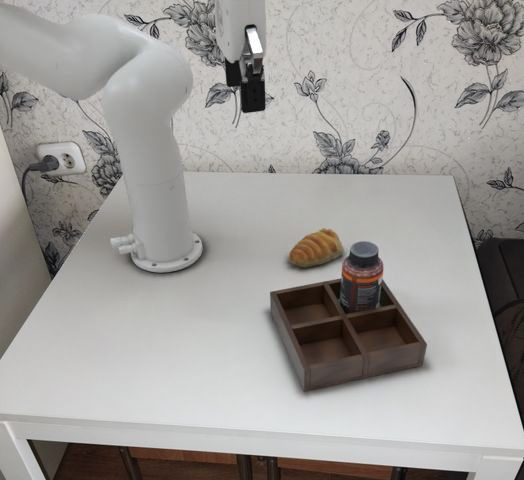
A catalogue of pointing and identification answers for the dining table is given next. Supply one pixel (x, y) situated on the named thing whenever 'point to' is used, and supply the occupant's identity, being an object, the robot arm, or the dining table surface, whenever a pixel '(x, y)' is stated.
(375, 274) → the supplement bottle
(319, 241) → the pastry
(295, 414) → the dining table surface
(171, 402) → the dining table surface
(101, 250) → the dining table surface
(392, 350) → the grid
